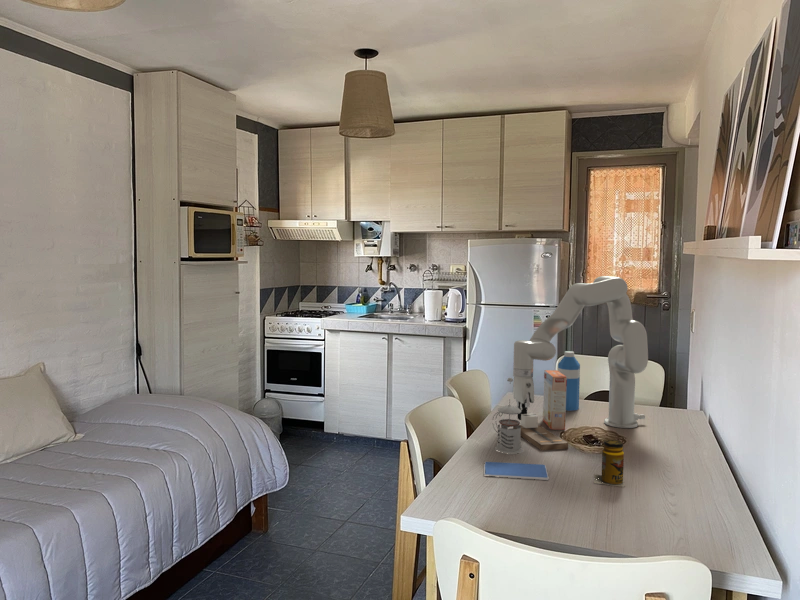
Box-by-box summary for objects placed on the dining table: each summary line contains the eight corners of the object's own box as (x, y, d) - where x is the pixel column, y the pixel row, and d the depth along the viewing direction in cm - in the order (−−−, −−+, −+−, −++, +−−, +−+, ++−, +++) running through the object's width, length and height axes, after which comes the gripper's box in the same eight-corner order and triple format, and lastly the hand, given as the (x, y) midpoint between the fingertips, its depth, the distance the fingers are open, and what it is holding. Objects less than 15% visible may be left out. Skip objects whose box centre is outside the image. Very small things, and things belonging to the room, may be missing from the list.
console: (537, 429, 229) (537, 423, 229) (568, 448, 206) (568, 442, 205) (513, 430, 227) (513, 425, 227) (541, 450, 203) (541, 444, 203)
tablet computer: (483, 478, 179) (483, 474, 179) (484, 464, 191) (484, 460, 191) (549, 482, 176) (549, 478, 175) (545, 468, 188) (545, 464, 188)
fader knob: (533, 424, 227) (533, 413, 226) (537, 427, 223) (538, 415, 223) (520, 425, 226) (521, 413, 225) (525, 428, 222) (525, 416, 222)
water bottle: (557, 410, 258) (559, 353, 257) (556, 405, 268) (557, 349, 266) (580, 411, 257) (581, 353, 255) (577, 406, 266) (579, 350, 264)
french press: (511, 456, 197) (512, 381, 196) (484, 447, 206) (485, 376, 204) (529, 450, 204) (530, 378, 202) (502, 442, 212) (503, 373, 211)
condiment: (624, 487, 171) (626, 446, 170) (594, 483, 174) (595, 443, 173) (623, 478, 178) (624, 439, 177) (593, 475, 180) (594, 436, 180)
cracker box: (566, 430, 228) (567, 376, 226) (550, 430, 228) (551, 376, 226) (557, 420, 242) (558, 369, 240) (542, 420, 242) (543, 369, 240)
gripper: (540, 376, 223) (539, 424, 224) (524, 368, 237) (523, 414, 239) (522, 376, 221) (521, 425, 222) (506, 369, 236) (505, 415, 237)
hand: (522, 419), depth 231 cm, fingers closed
